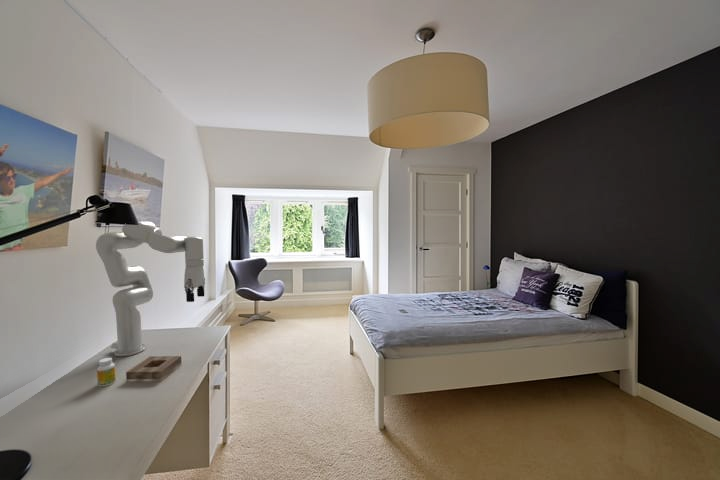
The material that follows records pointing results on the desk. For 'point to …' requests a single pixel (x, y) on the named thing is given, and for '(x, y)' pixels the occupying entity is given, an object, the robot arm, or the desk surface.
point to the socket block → (153, 368)
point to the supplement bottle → (106, 372)
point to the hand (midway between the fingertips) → (195, 298)
